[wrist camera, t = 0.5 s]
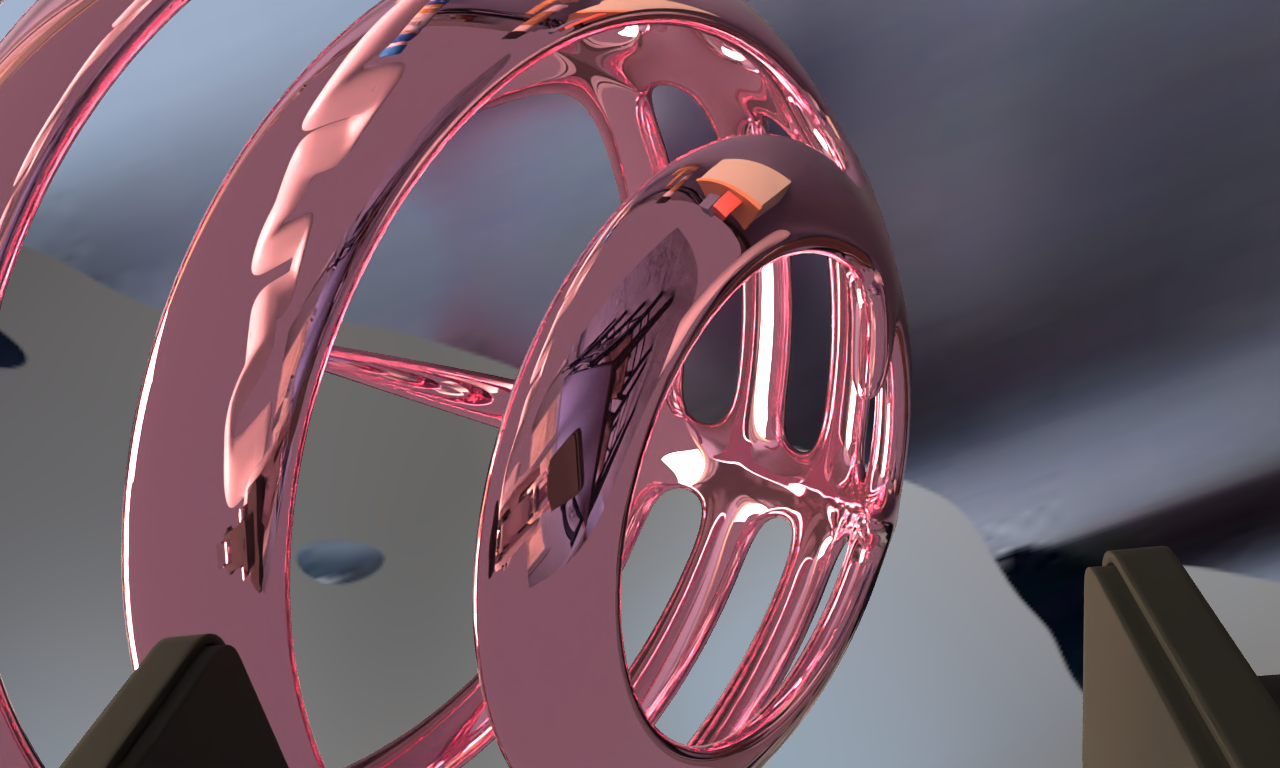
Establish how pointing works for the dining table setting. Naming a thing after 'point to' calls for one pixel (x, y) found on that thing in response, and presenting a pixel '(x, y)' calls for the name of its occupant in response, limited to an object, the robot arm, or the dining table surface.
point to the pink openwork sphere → (546, 382)
